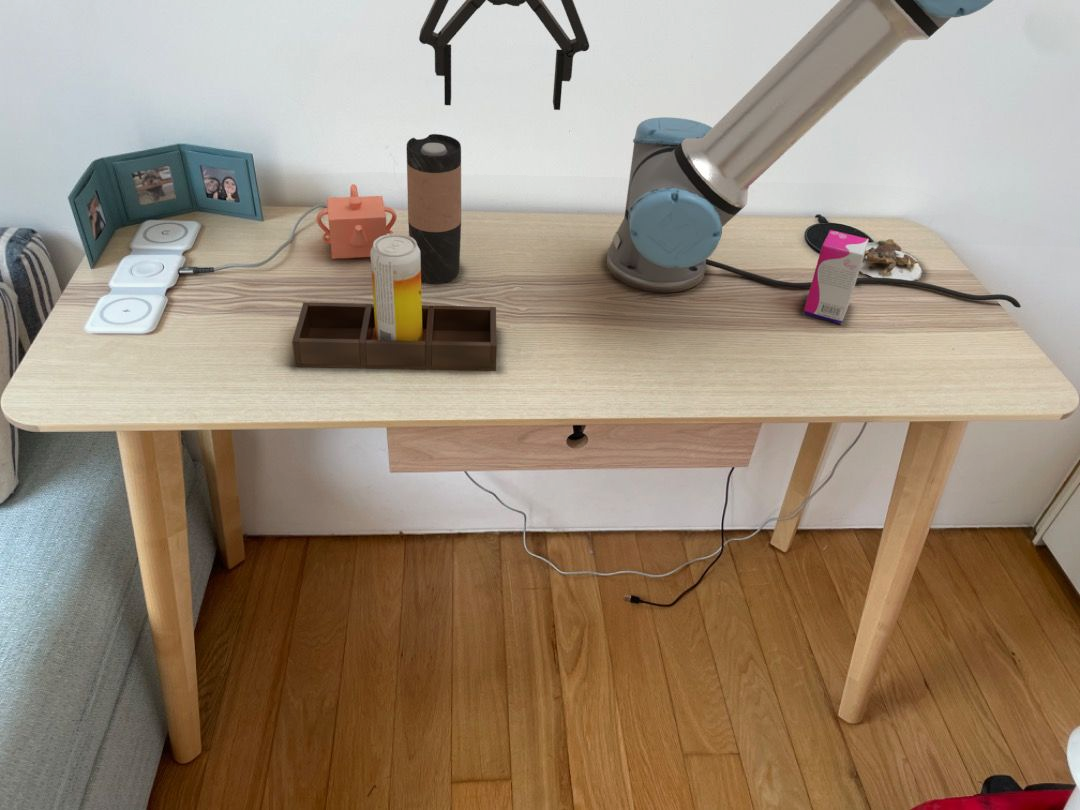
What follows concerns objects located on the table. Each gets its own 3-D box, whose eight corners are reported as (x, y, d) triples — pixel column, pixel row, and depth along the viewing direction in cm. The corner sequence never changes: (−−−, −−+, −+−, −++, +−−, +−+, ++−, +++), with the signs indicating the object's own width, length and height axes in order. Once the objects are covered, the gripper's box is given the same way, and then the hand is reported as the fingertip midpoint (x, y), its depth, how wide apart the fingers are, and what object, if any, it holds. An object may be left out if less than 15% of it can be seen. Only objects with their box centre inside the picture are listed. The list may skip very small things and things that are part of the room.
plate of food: (895, 291, 140) (903, 270, 137) (832, 258, 147) (838, 237, 144) (936, 270, 146) (944, 249, 143) (873, 239, 153) (880, 219, 150)
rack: (495, 331, 125) (496, 306, 122) (495, 370, 118) (496, 345, 115) (306, 326, 123) (303, 302, 120) (295, 367, 116) (291, 341, 113)
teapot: (321, 276, 133) (315, 225, 128) (318, 227, 144) (313, 179, 139) (402, 272, 135) (400, 221, 130) (393, 224, 147) (391, 176, 141)
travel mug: (452, 288, 133) (453, 159, 120) (403, 280, 134) (397, 151, 121) (466, 263, 139) (468, 137, 126) (418, 255, 140) (415, 130, 127)
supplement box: (848, 306, 136) (870, 238, 128) (841, 325, 131) (863, 256, 124) (810, 295, 137) (830, 227, 130) (801, 314, 133) (821, 245, 126)
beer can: (430, 337, 121) (428, 238, 112) (410, 362, 117) (406, 261, 107) (389, 326, 123) (384, 227, 113) (368, 350, 118) (360, 249, 109)
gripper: (392, -85, 96) (399, 110, 109) (624, -72, 98) (604, 119, 111) (397, -99, 102) (404, 88, 115) (616, -86, 104) (598, 96, 117)
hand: (502, 104), depth 113 cm, fingers open, 13 cm apart
